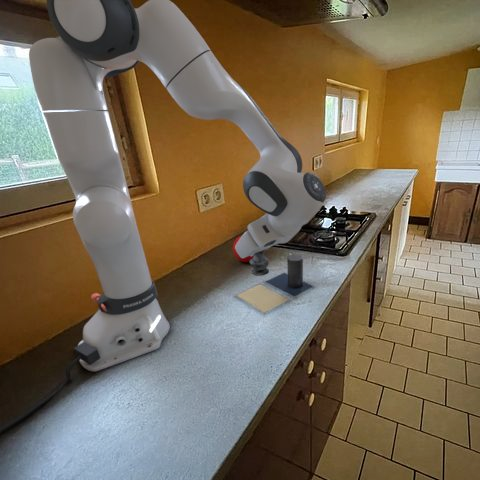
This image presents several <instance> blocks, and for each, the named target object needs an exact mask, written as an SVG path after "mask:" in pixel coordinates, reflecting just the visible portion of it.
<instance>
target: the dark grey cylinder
mask: <svg viewBox="0 0 480 480" xmlns="http://www.w3.org/2000/svg"><path fill="white" fill-rule="evenodd" d="M286 259H287V260H286V261H287V263H286V264H287V274H288V286H289V287H290V288H295V289H296V288H300V287H302V286H303V282H304V257H303V256H302V255H301V254H289V255H288V256H287V258H286Z"/></svg>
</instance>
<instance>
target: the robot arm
mask: <svg viewBox="0 0 480 480" xmlns="http://www.w3.org/2000/svg"><path fill="white" fill-rule="evenodd" d="M46 9H47V13H48V16H49V20H50V22H51V24H52V27H53V28H54V30H55V32H56V34H57V35H58V36H56V37H46V38H42V39H39V40H37V41H35V42H34V43H33V44H32V45H31V46H30V48H29V51H28V59H29V66H30V73H31V79H32V84H33V87H34V91H35V92H34V93H35V95H36V99H37V103H38V105H39V108H40V112H41V115H42V118H43V121H44V123H45V126H46V130H47V132H48V136H49V138H50V141H51V144H52V147H53V150H54V153H55V157H56V159H57V160H58V162H59V164H60V166H61V168H62V170H63V172H64V174H65V176H66V178H67V181H68V182H69V186H70V187H71V190H72V193H73V195H74V198H75V205H74V207H73V210H72V220H73V224H74V226H75V229H76V231H77V233H78V235H79V238H80V240H81V242H82V244H83V247H84V248H85V250H86V252H87V254H88V256H89V258H90V260H91V262H92V264H93V266H94V269H95V272H96V275H97V278H98V280H99V282H100V286H101V288H102V291H103V292H102V293H101V294H100V293H98V292H94V293H93V294H91V296H90V299H91V300H92V302H93V303H95V304H97V306H98V310H97V311H96V312H95V314H93V316H92V317H91V318H90V319H89V320H88V321H87V322H86V323H85V324H84V326H83V328H82V340H80V341H79V342H78V344H77V346H75V347H73V350H74V353H75V355H76V358H75V359H73V361H72V362H71V363H70V364H69V365H68V366H67V368H66V370H65V378H64V380H63V382H62V383H61V384H60V386H58V388H56V389H55V390H54V391H53V392H51V393H50V394H49V395H47V396H46V397H45V398H43V399H42V400H40V401H39V402H38V403H36V404H34V405H33V406H32V407H30V408H29V409H28V410H26V411H25V412H24V413H22V414H20V415H19V416H17V417H16V418H14V419H12V420H11V421H10V422H8V423H6V424H4V425H3V426H1V427H0V434H1V433H3V432H5V430H7V429H10V428H11V427H12V426H14V425H16V424H17V423H19V422H21V421H22V420H24V418H25V419H26V417H28V416H30V415H31V414H32V413H34V412H35V411H36V410H38V409H39V408H40V407H41V406H43V405H44V404H46V403H47V402H48V401H50V400H51V399H53V398H54V397H55V396H56V395H57V394H58V393H59V391H61V390H62V389H63V388H64V387H65V386H66V385H67V384H68V382H69V381H70V379H71V370H72V369H73V367H74V366H75V365H76V364H77V363H78V362H79V364H80V366H82V367H83V368H84V369H86V370H87V371H89V372H94V373H95V372H98V371H102V370H105V369H108V368H109V367H112V366H113V367H114V366H115V365H118V364H121V363H123V362H126V361H129V360H132V359H134V358H137V357H140V356H143V355H146V354H147V353H151V352H153V351H156V350H158V349H160V347H161V344H162V342H163V339H165V337H166V336H167V335H168V333H169V331H170V328H171V326H170V322H169V321H168V319H167V318H166V316H165V315H164V312H163V311H162V308H161V306H160V304H159V294H158V291H157V287H156V285H155V282H154V281H153V280H152V278H151V272H150V270H149V265H148V262H147V258H146V254H145V250H144V247H143V243H142V239H141V236H140V231H139V228H138V225H137V224H138V223H137V220H136V215H135V213H134V207H133V203H132V199H131V195H130V192H129V187H128V184H127V180H126V175H125V173H124V168H123V164H122V160H121V156H120V153H119V149H118V145H117V140H116V137H115V132H114V129H113V125H112V121H111V116H110V112H109V108H108V104H107V101H106V98H105V93H104V87H103V86H104V84H103V83H104V79H105V78H106V79H109V78H113V77H115V76H117V75H120V74H123V73H126V72H129V71H131V70H132V69H134V68H135V67H137V66H138V65H139V63H140V62H141V63H143V64H145V65H146V66H147V67H148V68H149V69H150V70H151V71H152V72H153V73H154V75H155V76H156V77H157V78H158V79H159V81H160V82H161V84H162V85H163V87H164V89H166V90H167V92H168V93H169V94H170V96H171V97H172V99H173V100H174V101H175V103H176V104H177V105H178V106H179V107H180V108H181V109H182V111H184V112H185V113H186V114H187V115H188V116H190V117H193V118H195V119H199V120H203V121H204V120H205V121H213V120H224V121H229V122H231V123H233V124H235V125H236V126H237V127H238V128H240V130H241V132H243V134H244V135H245V136H246V137H247V138H248V140H249V141H250V142H251V143H252V144H253V146H254V147H255V148H256V149H257V151H258V153H259V156H260V157H259V159H258V160H257V162H256V163H255V164H253V166H252V167H251V168H250V169H249V170H248V171H247V173H246V174H245V175H244V177H243V180H242V190H243V192H244V195H245V198H246V199H247V200H248V201H249V202H250V203H251V204H252V205H253V206H255V207H256V208H257V209H259V210H260V211H262V212H264V215H262V216H261V217H259V218H257V219H255V220H253V221H252V222H250V223H249V224H248V225H247V227H246V228H247V230H246V231H245V232H244V233H243V234H242V235H241V236H242V237H241V238H240V239H239V241H238V242H237V244H236V245H235V249H236V251H237V253H238V255H239V256H240V257H241V258H245V257H247V256H253V255H255V254H256V253H257V252H259V251H262V250H264V249H265V250H264V252H265V251H267V250H269V248H271V247H274V246H276V245H279V244H286V243H288V242H290V241H291V240H292V239H293V238H294V237H295V236H296V235H297V234H298V233H299V232H300V230H301V229H302V227H303V226H305V225H307V224H308V223H309V222H310V221H311V220H312V219H313V218H314V217H315V216H316V214H317V213H318V212H320V210H321V209H322V207H323V205H324V204H325V202H326V198H327V191H326V187H325V185H324V183H323V181H322V180H321V178H320V177H319V176H318V175H317V174H315V173H313V172H309V171H308V172H307V171H306V172H302V171H303V160H302V156H301V154H300V152H299V151H298V150H297V149H296V147H295V146H294V145H293V144H291V143H290V142H289V141H288V140H286V139H285V138H284V137H283V136H282V135H281V134H280V133H279V132H278V130H277V129H276V128H275V126H274V125H273V124H272V122H271V120H269V118H268V117H267V116H266V114H265V113H264V112H263V111H262V109H261V107H259V105H258V103H256V101H255V100H254V99H253V98H252V96H251V95H250V94H249V92H247V90H246V89H245V88H244V87H243V86H242V85H241V84H240V83H238V82H237V81H236V80H235V79H234V78H233V77H231V75H230V74H229V73H228V71H226V70H225V68H224V67H223V66H222V64H221V63H220V62H219V60H218V59H217V57H216V56H215V55H214V53H213V51H212V50H211V48H210V47H209V45H208V44H207V42H206V40H205V39H204V38H203V37H202V35H201V34H200V32H199V31H198V30H197V28H196V26H195V25H193V23H192V22H191V21H190V20H189V18H188V17H187V16H186V15H185V13H183V12H182V10H181V9H180V8H179V7H178V6H177V5H176V4H175V3H174V2H172V1H171V0H147V1H146V2H144V3H143V4H142V5H141V6H139V7H137V8H135V7H134V5H133V3H132V1H131V0H46Z"/></svg>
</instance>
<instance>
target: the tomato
mask: <svg viewBox="0 0 480 480" xmlns="http://www.w3.org/2000/svg"><path fill="white" fill-rule="evenodd" d="M241 237H242V235H240V236H238V237H237V238H236V239H235V240H234V242H233V245H232V251H233V254H234V256H235V258H236V260H238V261H239V262H241V263H250V260H251V259H252V258H254V255H253V256H247V257H245V258H241V257H240V256H239V255H238V253H237V251H236V249H235V245H236V244H237V242H238V241H239V239H240V238H241Z"/></svg>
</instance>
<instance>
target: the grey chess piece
mask: <svg viewBox="0 0 480 480" xmlns="http://www.w3.org/2000/svg"><path fill="white" fill-rule="evenodd" d="M264 250H265V249H264ZM264 250H262V251H259V252H257V253H256V254H255V255H254V258H252V259H251V260H250V262H249V264H250V267H251V268H252V270H251V274H252V275H253V276H256V277H262V276H266V275H268V274H269V272H270V270H269V269H268V266H269V263H270V259H269V258H268V257H266V256H265V251H266V250H265V251H264Z"/></svg>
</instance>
